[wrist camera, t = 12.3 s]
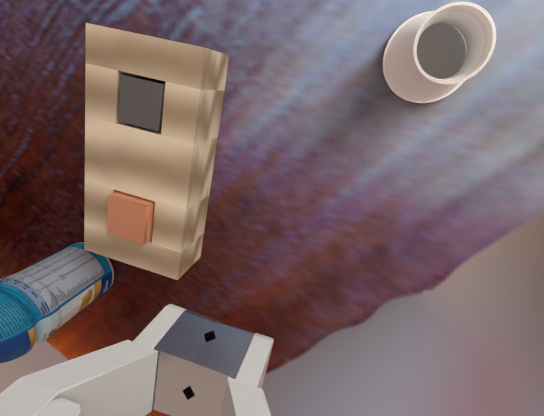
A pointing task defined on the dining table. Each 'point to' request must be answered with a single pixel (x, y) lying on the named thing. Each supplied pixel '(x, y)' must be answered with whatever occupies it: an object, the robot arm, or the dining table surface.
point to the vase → (438, 51)
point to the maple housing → (151, 145)
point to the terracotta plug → (130, 217)
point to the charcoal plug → (141, 101)
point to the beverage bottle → (49, 297)
